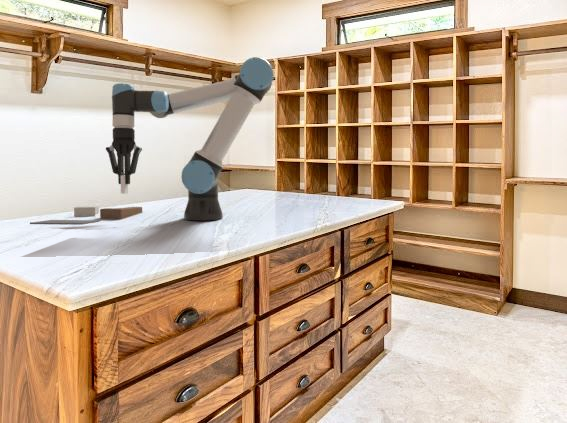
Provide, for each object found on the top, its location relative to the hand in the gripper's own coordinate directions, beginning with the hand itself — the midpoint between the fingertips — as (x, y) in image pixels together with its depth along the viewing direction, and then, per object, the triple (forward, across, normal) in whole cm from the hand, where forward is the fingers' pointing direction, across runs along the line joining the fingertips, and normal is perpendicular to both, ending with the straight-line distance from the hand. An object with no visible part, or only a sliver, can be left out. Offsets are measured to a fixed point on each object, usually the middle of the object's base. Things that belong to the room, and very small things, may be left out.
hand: (124, 193), depth 172 cm
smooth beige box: (+11, +26, -20) cm, 35 cm away
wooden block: (+9, +11, -11) cm, 18 cm away
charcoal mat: (+11, +23, 0) cm, 25 cm away
